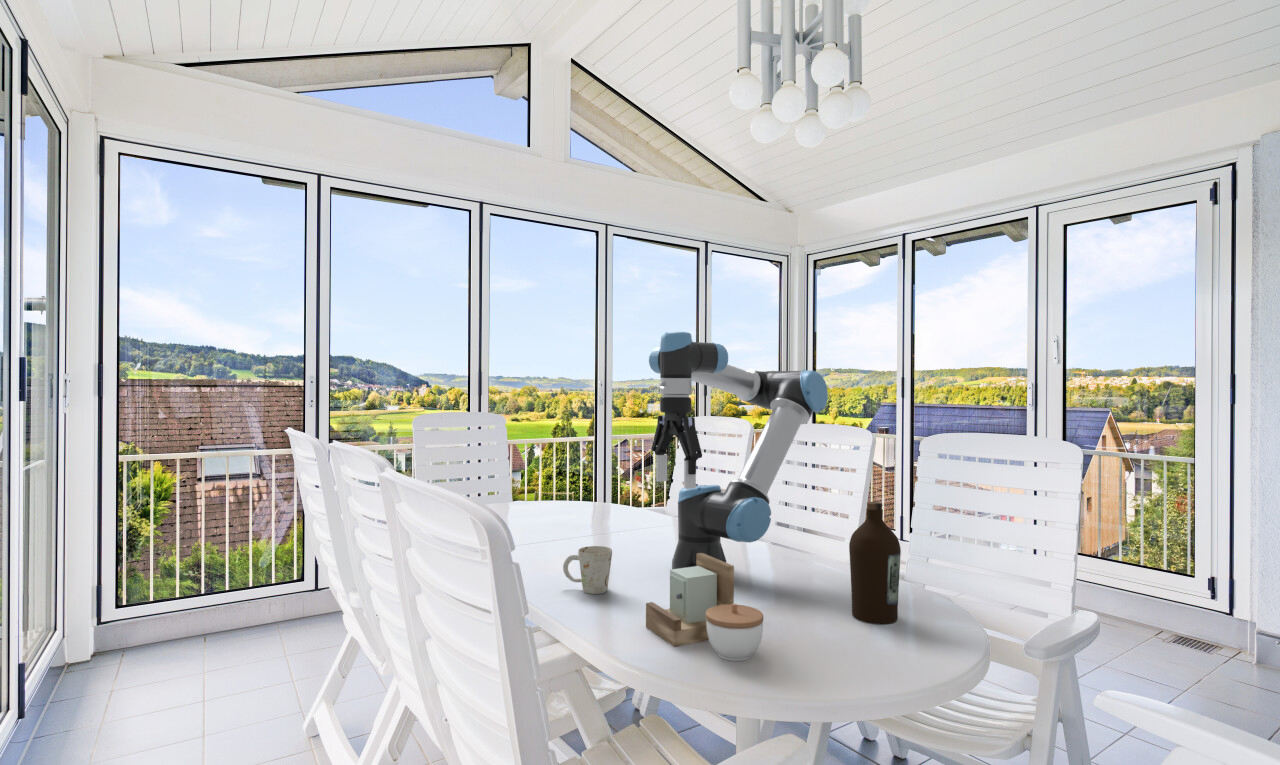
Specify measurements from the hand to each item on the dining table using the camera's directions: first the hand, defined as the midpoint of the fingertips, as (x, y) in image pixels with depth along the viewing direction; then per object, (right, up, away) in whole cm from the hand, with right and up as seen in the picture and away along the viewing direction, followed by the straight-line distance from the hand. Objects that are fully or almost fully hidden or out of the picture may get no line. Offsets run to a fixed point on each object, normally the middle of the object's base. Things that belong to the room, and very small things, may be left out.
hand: (675, 484), depth 160 cm
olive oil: (+43, -27, -15) cm, 53 cm away
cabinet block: (+2, -23, -23) cm, 33 cm away
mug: (-22, -27, +5) cm, 35 cm away
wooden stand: (+1, -26, -24) cm, 35 cm away
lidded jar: (+9, -27, -36) cm, 45 cm away
